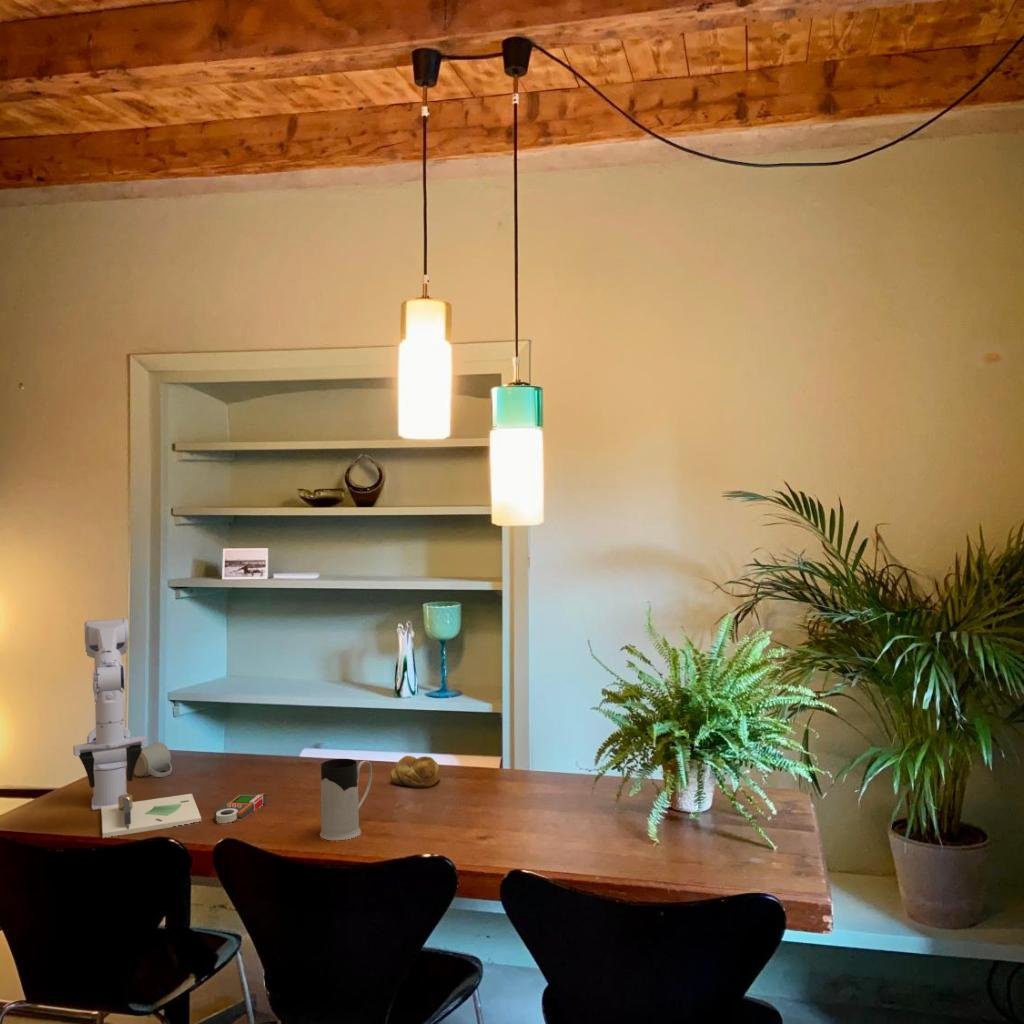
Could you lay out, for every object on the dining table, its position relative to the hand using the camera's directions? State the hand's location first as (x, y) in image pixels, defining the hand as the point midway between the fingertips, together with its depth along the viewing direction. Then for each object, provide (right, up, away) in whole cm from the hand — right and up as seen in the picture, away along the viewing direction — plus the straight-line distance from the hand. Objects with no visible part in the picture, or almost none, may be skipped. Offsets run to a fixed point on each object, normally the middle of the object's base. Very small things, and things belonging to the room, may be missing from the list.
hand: (111, 783), depth 197 cm
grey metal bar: (+2, -8, +4) cm, 9 cm away
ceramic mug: (-7, -11, +42) cm, 44 cm away
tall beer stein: (+53, -9, -4) cm, 54 cm away
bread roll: (+64, -9, +28) cm, 71 cm away
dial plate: (+6, -10, +7) cm, 13 cm away
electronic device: (+26, -10, +8) cm, 29 cm away
